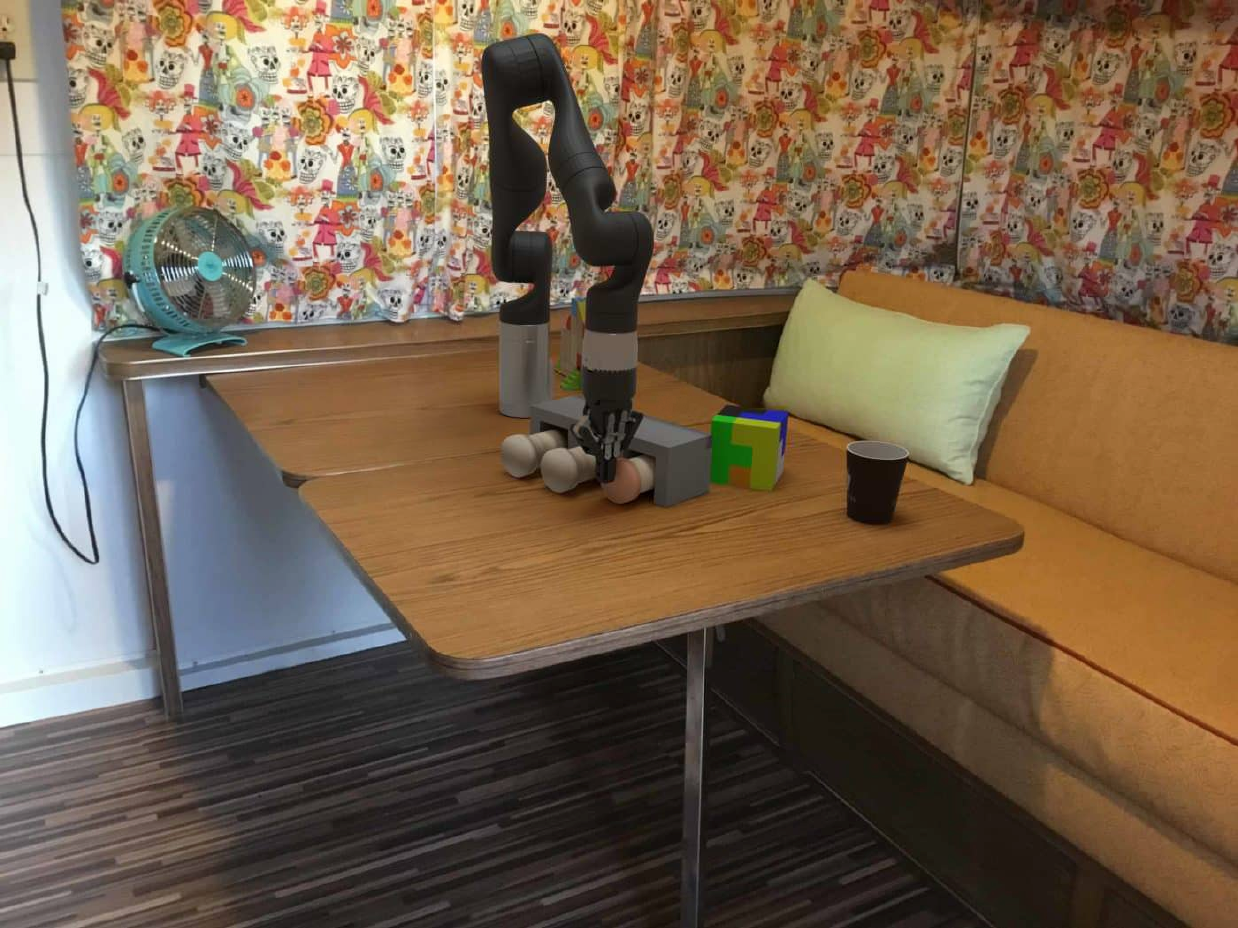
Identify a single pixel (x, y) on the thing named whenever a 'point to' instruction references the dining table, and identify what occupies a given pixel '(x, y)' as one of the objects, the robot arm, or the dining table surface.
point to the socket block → (644, 448)
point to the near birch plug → (530, 450)
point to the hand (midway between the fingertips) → (605, 481)
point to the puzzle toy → (748, 447)
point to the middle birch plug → (567, 468)
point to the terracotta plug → (631, 478)
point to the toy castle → (573, 345)
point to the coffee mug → (874, 480)
